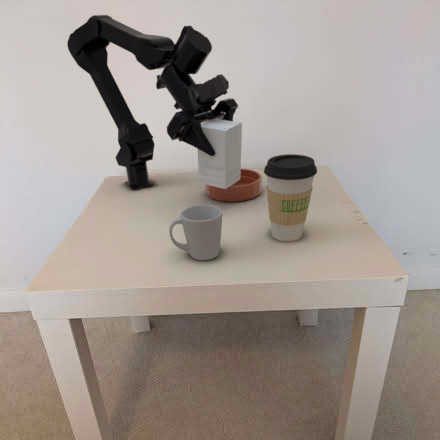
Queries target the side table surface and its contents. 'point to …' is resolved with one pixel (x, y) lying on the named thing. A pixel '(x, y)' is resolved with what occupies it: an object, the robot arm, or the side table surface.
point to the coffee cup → (289, 194)
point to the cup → (200, 231)
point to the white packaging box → (221, 153)
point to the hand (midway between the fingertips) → (226, 150)
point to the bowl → (238, 188)
